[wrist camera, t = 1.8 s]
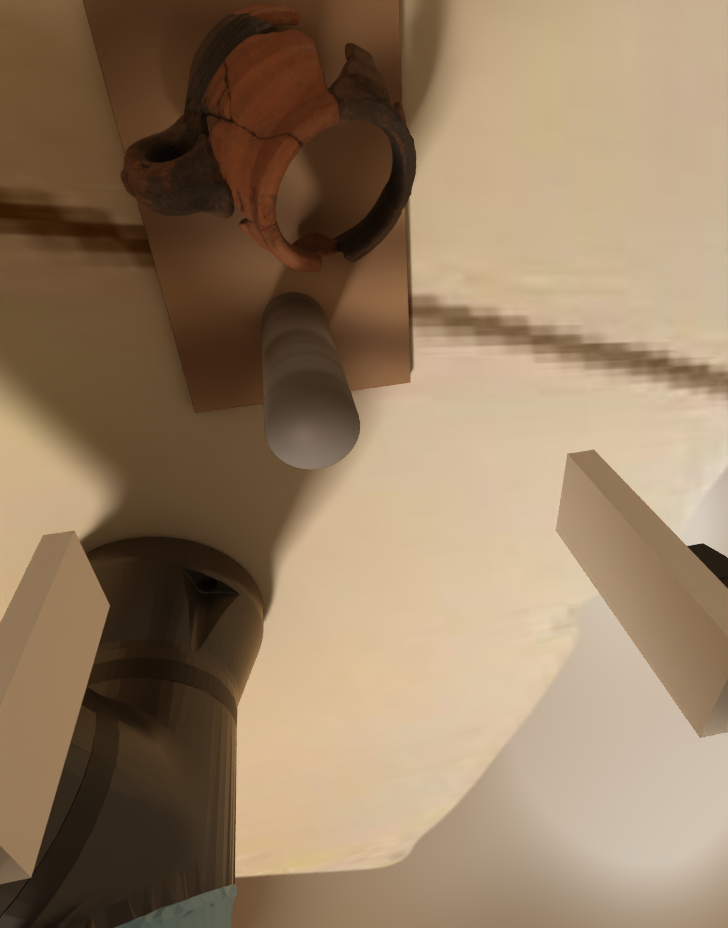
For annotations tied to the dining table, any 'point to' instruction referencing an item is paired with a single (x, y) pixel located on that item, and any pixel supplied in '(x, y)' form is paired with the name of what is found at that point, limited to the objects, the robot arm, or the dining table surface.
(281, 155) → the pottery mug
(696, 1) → the dining table surface
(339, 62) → the brown board with post
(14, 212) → the dining table surface
